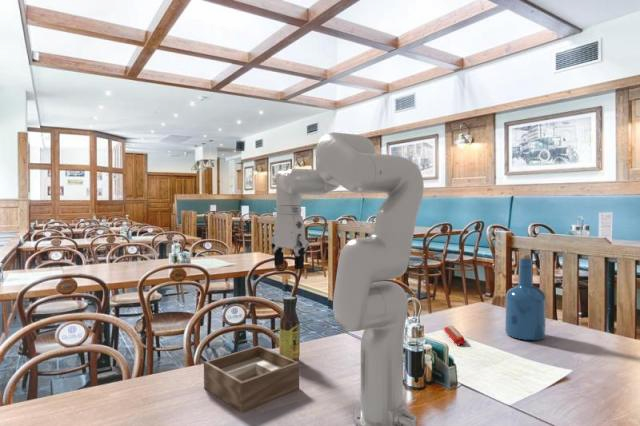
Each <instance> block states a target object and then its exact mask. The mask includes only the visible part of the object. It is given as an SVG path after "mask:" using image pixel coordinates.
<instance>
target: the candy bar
mask: <svg viewBox="0 0 640 426" xmlns="http://www.w3.org/2000/svg"><path fill="white" fill-rule="evenodd" d="M444 331H445V334H446V333H447V334H448V335H449V336H448V335H447V334H446V335H447V336H448V338H449V339H450V338H451V339H452V340H453V341H454V342H453V341H452V340H451V339H450V340H451V341H452V342H453V344H455V343H456V344H457V345H456V344H455V345H456V346H459V345H458V344H461V345H464V344H467V343H466V340H465V337H464V336H463V335H462V334H461V333H460V331H458V330H457V328H455V327H454V326H453V325H449V326H446V327H444Z"/></svg>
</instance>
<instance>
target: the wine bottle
mask: <svg viewBox="0 0 640 426" xmlns="http://www.w3.org/2000/svg"><path fill="white" fill-rule="evenodd" d="M518 265H519V266H518V267H519V271H518V272H519V275H518V277H519V278H518V284H517V285H516V286H514V287H511V288H509V289H508V290H507V291H506V294H505V317H504V318H505V320H504V321H505V322H504V323H505V328H504V329H505V333H506V335H507V334H508V336H509V335H510V336H509V337H511V336H512V338H513V337H515V338H514V339H516V338H518V339H517V340H520V339H524V340H523V341H526V340H537V341H541V340H540V339H542V338H543V339H544V338H546V316H547V315H546V314H547V312H546V311H547V307H546V305H547V303H546V301H547V299H546V294H545V293H544V291H542V289H540V288H538V287H537V286H534V285H533V261H532V258H531V255H530V254H527V253H526V254H525V253H524V254H521V257H520V258H519V264H518ZM543 339H542V340H543Z"/></svg>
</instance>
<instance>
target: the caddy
mask: <svg viewBox="0 0 640 426" xmlns="http://www.w3.org/2000/svg"><path fill="white" fill-rule="evenodd" d="M203 389H205V390H207V391H208V392H209V393H211V394H213V395H214V396H215V397H217V398H219V399H220V400H222V401H224V402H225V403H227V404H228V405H229V406H231V407H232V408H234V409H236V410H237V411H238V412H240V413H241V414H242V413H245V412H247V411H250V410H251V409H254V408H256V407H260V406H261V405H263V404H265V403H268V402H270V401H273V400H275V399H277V398H280V397H283V396H284V395H287V394H290V393H292V392H294V391H297V390H299V389H300V362H299V361H298V362H297V361H294V360H292V359H290V358H287V357H285V356H283V355H280V354H279V353H278V352H275V351H273V350H271V349H269V348H267V347H263V346H261V345H256V346H253V347H249V348H246V349H242V350H240V351H236V352H233V353H230V354H226V355H223V356H219V357H216V358H213V359H209V360H207V361H203Z"/></svg>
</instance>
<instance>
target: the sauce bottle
mask: <svg viewBox="0 0 640 426" xmlns="http://www.w3.org/2000/svg"><path fill="white" fill-rule="evenodd" d="M282 302H283V310H282V311H283V313H282V314H281V316H280V319H279V339H278V340H279V344H278V345H279V346H278V347H279V351H278V352H279V353H278V354H280V355H283V356H285V357H287V358H290V359H292V360H294V361H297V362H299V360H300V353H301V352H300V347H301V346H300V345H301V344H300V340H301V339H300V338H301V337H300V333H301V332H300V330H301V329H300V327H301V326H300V321H299V317H298V315H297V310H296V303H297V297H295V296H284V297H283V298H282Z"/></svg>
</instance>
